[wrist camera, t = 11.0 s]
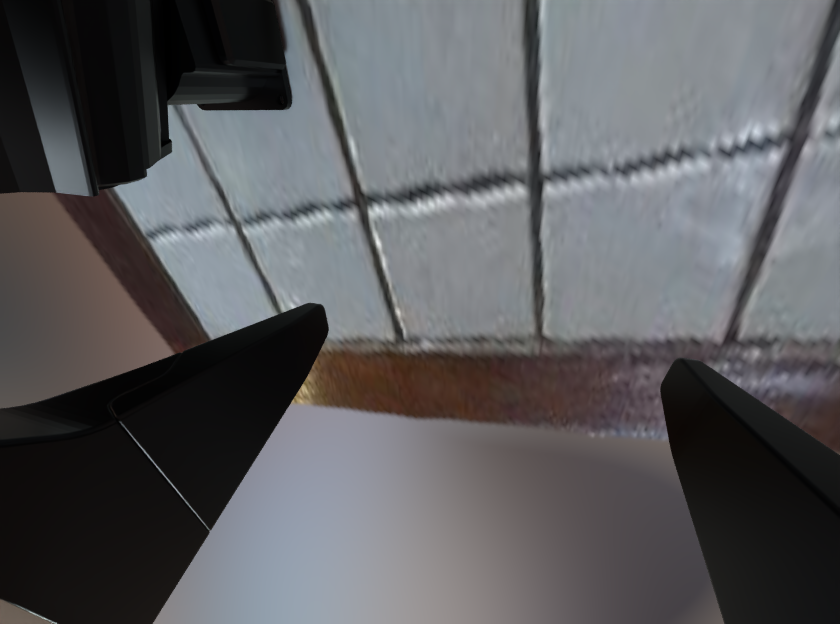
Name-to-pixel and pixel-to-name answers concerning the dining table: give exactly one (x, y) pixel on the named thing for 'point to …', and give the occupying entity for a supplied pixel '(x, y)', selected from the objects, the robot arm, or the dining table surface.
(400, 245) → the dining table surface
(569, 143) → the dining table surface
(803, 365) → the dining table surface
